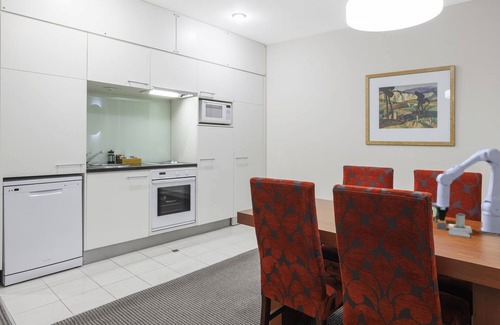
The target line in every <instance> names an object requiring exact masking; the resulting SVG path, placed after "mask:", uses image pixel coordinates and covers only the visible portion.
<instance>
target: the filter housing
mask: <svg viewBox="0 0 500 325" xmlns="http://www.w3.org/2000/svg"><path fill="white" fill-rule="evenodd" d="M447 226H448V227H447ZM447 228H448V229H447ZM436 229H437V230H442V231H448V230H451V231H459V232H467V233H469V234H472V233H473V230H472V227H471V226H470V225H465V226H464V228H456V223H455V224H453V223H448V224H447V222H446V224H439V223H438V222H437V223H436Z"/></svg>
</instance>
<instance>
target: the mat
mask: <svg viewBox="0 0 500 325" xmlns="http://www.w3.org/2000/svg"><path fill="white" fill-rule="evenodd" d="M447 231H448V236H455V237H462V238H463V237H464V238H471V235H470V233H467V232H459V231H451V230H449V229H447Z"/></svg>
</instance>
